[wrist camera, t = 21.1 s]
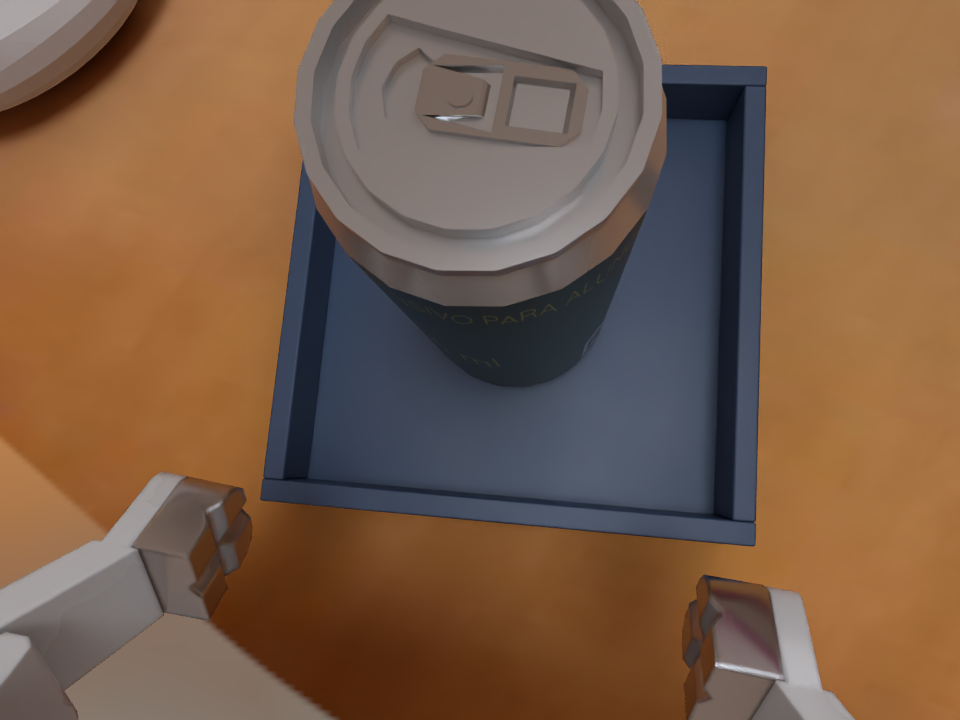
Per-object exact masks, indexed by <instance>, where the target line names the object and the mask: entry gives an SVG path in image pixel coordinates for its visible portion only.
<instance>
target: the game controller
mask: <svg viewBox="0 0 960 720" xmlns="http://www.w3.org/2000/svg"><path fill="white" fill-rule="evenodd" d="M137 1H138V0H0V112H1V111H3V110H6V109H9V108H12V107H15V106H17V105H19V104H21V103H24V102H26V101H28V100H30V99H32V98H34V97H37V96H38V95H40V94H42V93H43V92H45V91H47V90H49V89H50V88H52V87H54V86H56V85H57V84H59V83H60V82H62V81H63V80H64V79H66V78H67V77H69V76H70V75H72V74H73V73H75V72H76V71H77V70H78V69H79V68H81V67H82V66H83V65H84V64H85V63H87V62H88V61H89V60H90V59H92V58H93V57H94V56H95V55H96V54H97V53H98V52H99V51H100V50H101V49H102V48H103V47H104V46H105V45H106V44H107V43H108V42H109V41H110V39H111V38H112V37H113V36H114V35H115V34H116V32H117V31H118V30H119V29H120V28H121V26H122V25H123V24H124V22H125V21H126V19H127V18H128V16H129V15H130V13H131V12H132V10H133V9H134V7H135V5H136V3H137Z"/></svg>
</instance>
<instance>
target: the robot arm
mask: <svg viewBox="0 0 960 720" xmlns="http://www.w3.org/2000/svg"><path fill="white" fill-rule="evenodd" d="M245 502H246V497H245V494H244V490H243V488H239V487H234V486H230V485H225V484H220V483H216V482H211V481H207V480H202V479H197V478H193V477H188V476H183V475H178V474H173V473H168V472H163V471H162V472H160V473H159V474H157V475H155V476H154V477H153V478H152V479H151V480H150V481H149V482H148V484H147V485H146V486H145V487H144V489H143V490H142V491H141V492H140V494H139V495H138V496H137V497H136V499H135V500H134V501H133V502H132V504H131V505H130V506H129V507H128V509H127V510H126V511H125V512H124V514H123V515H122V516H121V517H120V519H119V520H118V521H117V522H116V524H115V525H114V526H113V527H112V529H111V530H110V531H109V532H108V534H107V535H106V536H105V537H104V539H103V540H102V541H98V540H93V541H91V542H89V543H87V544H85V545H83V546H81V547H79V548H77V549H76V550H74V551H72V552H70V553H68V554H66V555H64V556H63V557H60V558H59V559H57V560H55V561H53V562H51V563H49V564H47V565H45V566H43V567H42V568H40V569H38V570H36V571H34V572H32V573H30V574H28V575H26V576H25V577H22V578H21V579H19V580H17V581H15V582H13V583H11V584H9V585H7V586H5V587H4V588H2V589H0V720H78V713H77V710H76V709H75V707H74V705H73V704H72V703H71V701H70V699H69V698H68V696H67V695H66V693H65V692H64V691H65V690H66V689H67V688H68V687H70V686H71V685H72V684H74V683H75V682H76V681H78V680H79V679H80V678H82V677H83V676H84V675H86V674H87V673H88V672H90V671H91V670H92V669H93V668H95V667H96V666H97V665H99V664H100V663H102V662H103V661H104V660H105V659H107V658H108V657H109V656H110V655H112V654H113V653H115V652H116V651H117V650H119V649H120V648H121V647H123V646H124V645H125V644H126V643H128V642H129V641H131V640H132V639H133V638H135V637H136V636H137V635H138V634H140V633H141V632H143V631H144V630H145V629H146V628H148V627H149V626H150V625H152V624H153V623H154V622H156V621H157V620H158V619H160V618H161V617H162V616H164V613H163V612H165V613H171V614H176V615H181V616H186V617H192V618H197V619H202V620H208V621H209V620H210V618H211V616H212V615H213V613H214V611H215V609H216V608H217V606H218V604H219V603H220V601H221V599H222V597H223V596H224V594H225V592H226V590H227V589H228V588H227V582H226V576H227V575H228V574H230V573H231V572H233V571H235V570H236V569H238V568H239V567H240V566H241V564H242V562H243V560H244V558H245V557H246V555H247V552H248V549H249V546H250V542H251V539H252V522H251V518H250V516H249V515H248V514H247V513H246V512H245V511H244V510H243V509H242V507H243V506H244V504H245ZM696 593H697V600H695V601H693V602H690V603H689V606H688V609H687V612H686V614H685V619H684V625H683V631H682V656H683V660H684V661H685V663H686V664H687V665H688V667H689V668H690V672H689V674H688V676H687V678H686V681H685V683H684V695H685V712H686V720H855V719H854V718H853V717H852V715H851V714H850V713H849V712H848V710H847V709H846V708H845V707H844V706H843V704H842V703H841V702H840V701H839V699H838V698H837V697H836V696H835V694H834V693H833V692H831V691H826V690H823V689H822V684H821V680H820V675H819V671H818V666H817V662H816V657H815V653H814V648H813V644H812V640H811V635H810V631H809V626H808V622H807V617H806V613H805V608H804V604H803V599H802V598H801V596H800V595H799V593H797V592H794V591H788V590H783V589H777V588H771V587H764V585H760V584H754V583H748V582H743V581H737V580H731V579H726V578H720V577H714V576H708V575H703V576H702V577H701V578H700V579H699V582H698V584H697V586H696Z"/></svg>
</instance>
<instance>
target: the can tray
mask: <svg viewBox="0 0 960 720" xmlns="http://www.w3.org/2000/svg"><path fill="white" fill-rule="evenodd" d="M766 83H767V67H765V66H710V65H662V88H663V91H664V93H665V96H666V114H667V155H666V158H665V160H664V163H663V166H662V169H661V172H660V175H659V178H658V181H657V184H656V186H655V189H654V192H653V195H652V198H651V201H650V204H649V207H648V209H647V212H646V214H645V217H644V220H643V222H642V225H641V227H640V230H639V232H638V235H637V237H636V240H635V243H634V245H633V248H632V250H631V253H630V255H629V258H628V260H627V263H626V265H625V268H624V271H623V273H622V276H621V278H620V281H619V283H618V286H617V288H616V291H615V293H614V296H613V299H612V301H611V304H610V306H609V309H608V311H607V314H606V316H605V319H604V321H603V324H602V327H601V329H600V332H599V334H598V337H597V339H596V340H595V342H594V343H593V344H592V345H591V347H590V348H589V349H588V351H587V352H586V353H585V355H584V356H583V357H582V358H581V360H580V361H579V362H578V363H576V364H575V365H573V366H572V367H570V368H569V369H567V370H566V371H564V372H563V373H562V374H560V375H559V376H557V377H556V378H553V379H550V380H546V381H543V382H539V383H536V384H533V385H529V386H502V385H496V384H493V383H490V382H487V381H484V380H482V379H479V378H476V377H473V376H471V375H470V374H468V373H467V372H466V371H464V370H463V369H462V368H460V367H459V366H458V365H457V364H455V363H454V362H453V361H451V360H450V359H449V358H448V357H447V356H446V355H445V354H444V353H443V352H442V351H441V350H440V349H439V348H438V347H437V346H436V345H435V344H434V343H433V342H432V341H431V340H430V339H429V338H428V337H427V336H426V335H425V334H424V333H423V332H422V331H421V330H420V328H419V327H418V326H417V325H416V324H415V323H414V322H413V321H412V320H411V319H410V318H409V317H408V316H407V315H406V314H405V313H404V312H403V311H402V310H401V309H400V308H399V307H398V306H397V305H396V304H395V303H394V302H393V301H392V300H391V299H390V298H389V297H388V296H387V295H386V294H385V293H384V292H383V291H382V290H381V289H380V288H379V287H378V286H377V285H376V283H375V282H374V281H373V280H372V279H371V278H370V277H369V276H368V275H367V274H366V273H365V272H364V271H363V270H362V269H361V268H360V267H359V266H358V265H357V264H356V263H355V262H354V261H353V260H352V259H351V258H350V257H349V256H348V255H347V254H346V252H345V251H344V249H343V248H342V246H341V245H340V243H339V242H338V240H337V239H336V237H335V236H334V234H333V233H332V231H331V230H330V228H329V227H328V225H327V224H326V222H325V221H324V219H323V218H322V216H321V215H320V213H319V212H318V210H317V208H316V204H315V200H314V196H313V192H312V188H311V184H310V180H309V176H308V175H307V173H306V169H305V165H304V161H303V163H302V171H301V179H300V187H299V195H298V203H297V211H296V219H295V227H294V235H293V243H292V251H291V259H290V267H289V275H288V283H287V291H286V299H285V307H284V315H283V323H282V331H281V339H280V347H279V355H278V363H277V371H276V379H275V387H274V395H273V403H272V411H271V419H270V427H269V435H268V443H267V451H266V459H265V467H264V475H263V477H264V478H265V479H263V481H262V489H261V497H260V500H262V501H272V502H283V503H294V504H305V505H315V506H326V507H337V508H347V509H358V510H369V511H379V512H390V513H401V514H411V515H422V516H433V517H443V518H454V519H465V520H475V521H486V522H497V523H507V524H518V525H529V526H539V527H550V528H561V529H571V530H582V531H593V532H603V533H614V534H625V535H635V536H646V537H657V538H667V539H678V540H689V541H699V542H710V543H721V544H731V545H742V546H755V540H756V524H755V523H754V522H755V520H756V490H757V449H758V408H759V366H760V325H761V284H762V243H763V202H764V160H765V119H766Z"/></svg>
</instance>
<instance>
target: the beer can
mask: <svg viewBox="0 0 960 720" xmlns="http://www.w3.org/2000/svg"><path fill="white" fill-rule="evenodd" d="M294 126H295V130H296V134H297V137H298V141H299V145H300V149H301V153H302V157H303V161H304V165H305V169H306V173H307V175H308V176H309V180H310V184H311V188H312V192H313V196H314V200H315V204H316V208H317V210H318V212H319V213H320V215H321V216H322V218H323V219H324V221H325V222H326V224H327V225H328V227H329V228H330V230H331V231H332V233H333V234H334V236H335V237H336V239H337V240H338V242H339V243H340V245H341V246H342V248H343V249H344V251H345V252H346V254H347V255H348V256H349V257H350V258H351V259H352V260H353V261H354V262H355V263H356V264H357V265H358V266H359V267H360V268H361V269H362V270H363V271H364V272H365V273H366V274H367V275H368V276H369V277H370V278H371V279H372V280H373V281H374V282H375V283H376V285H377V286H378V287H379V288H380V289H381V290H382V291H383V292H384V293H385V294H386V295H387V296H388V297H389V298H390V299H391V300H392V301H393V302H394V303H395V304H396V305H397V306H398V307H399V308H400V309H401V310H402V311H403V312H404V313H405V314H406V315H407V316H408V317H409V318H410V319H411V320H412V321H413V322H414V323H415V324H416V325H417V326H418V327H419V328H420V330H421V331H422V332H423V333H424V334H425V335H426V336H427V337H428V338H429V339H430V340H431V341H432V342H433V343H434V344H435V345H436V346H437V347H438V348H439V349H440V350H441V351H442V352H443V353H444V354H445V355H446V356H447V357H448V358H449V359H450V360H451V361H453V362H454V363H455V364H457V365H458V366H459V367H460V368H462V369H463V370H464V371H466V372H467V373H468V374H470V375H471V376H473V377H476V378H479V379H482V380H484V381H487V382H490V383H493V384H496V385H502V386H529V385H533V384H536V383H539V382H543V381H546V380H550V379H553V378H556V377H557V376H559V375H560V374H562V373H563V372H564V371H566V370H567V369H569V368H570V367H572V366H573V365H575V364H576V363H578V362H579V361H580V360H581V358H582V357H583V356H584V355H585V353H586V352H587V351H588V349H589V348H590V347H591V345H592V344H593V343H594V342H595V340H596V339H597V337H598V334H599V332H600V329H601V327H602V324H603V321H604V319H605V316H606V314H607V311H608V309H609V306H610V304H611V301H612V299H613V296H614V293H615V291H616V288H617V286H618V283H619V281H620V278H621V276H622V273H623V271H624V268H625V265H626V263H627V260H628V258H629V255H630V253H631V250H632V248H633V245H634V243H635V240H636V237H637V235H638V232H639V230H640V227H641V225H642V222H643V220H644V217H645V214H646V212H647V209H648V207H649V204H650V201H651V198H652V195H653V192H654V189H655V186H656V184H657V181H658V178H659V175H660V172H661V169H662V166H663V163H664V160H665V158H666V155H667V114H666V96H665V93H664V91H663V88H662V60H661V57H660V54H659V51H658V49H657V46H656V43H655V40H654V38H653V35H652V32H651V30H650V27H649V24H648V21H647V19H646V16H645V13H644V10H643V8H642V7H641V6H640V5H639V4H638V2H637V1H636V0H335V1H334V2H333V3H332V4H331V5H330V7H329V8H328V9H327V10H326V11H325V13H324V14H323V15H322V16H321V18H320V19H319V20H318V22H317V25H316V27H315V30H314V32H313V34H312V37H311V39H310V42H309V44H308V47H307V49H306V51H305V54H304V56H303V59H302V61H301V63H300V66H299V68H298V75H297V87H296V100H295V112H294Z"/></svg>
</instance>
